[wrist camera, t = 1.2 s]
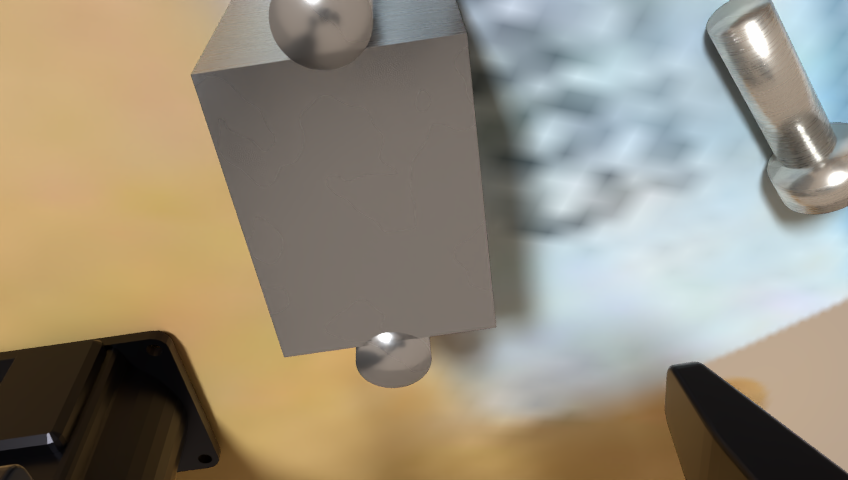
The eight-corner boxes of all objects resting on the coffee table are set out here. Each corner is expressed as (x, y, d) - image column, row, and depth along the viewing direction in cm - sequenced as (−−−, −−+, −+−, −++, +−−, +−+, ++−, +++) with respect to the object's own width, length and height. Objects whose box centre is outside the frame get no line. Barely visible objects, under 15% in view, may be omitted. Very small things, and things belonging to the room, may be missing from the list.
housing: (471, 236, 23) (500, 373, 18) (314, 259, 23) (299, 401, 18) (432, -113, 17) (458, -56, 12) (222, -80, 17) (162, -10, 12)
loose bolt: (845, 134, 21) (900, 175, 19) (764, 183, 22) (809, 229, 20) (769, -28, 19) (824, -1, 16) (679, 35, 19) (720, 69, 17)
